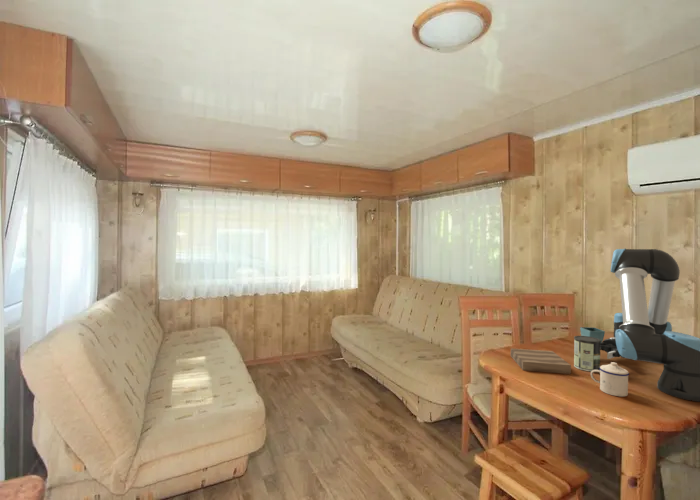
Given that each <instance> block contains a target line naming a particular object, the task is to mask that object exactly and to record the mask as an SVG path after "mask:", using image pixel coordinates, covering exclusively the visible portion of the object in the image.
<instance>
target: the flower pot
mask: <svg viewBox="0 0 700 500" xmlns="http://www.w3.org/2000/svg"><path fill="white" fill-rule="evenodd" d="M605 333H606V331H605V330H602V329H599V328H596V327H592V326H591V327H588V326H586V327H580V336H588V337H594V338H597V339H600V340H601V342H603V341H604V337H605ZM601 342H600V343H601Z"/></svg>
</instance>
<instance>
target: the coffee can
mask: <svg viewBox="0 0 700 500" xmlns="http://www.w3.org/2000/svg"><path fill="white" fill-rule="evenodd" d="M573 339H574V341H573V343H574V347H573V348H574V349H573V354H574V355H573V367H575V368H576V369H578V370H581V371H585V372H590V373H591V371H592V370H600V366H601V350H600V342H601V340H600V339H597V338H594V337H588V336H581V335H574V336H573Z"/></svg>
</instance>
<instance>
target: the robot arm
mask: <svg viewBox="0 0 700 500" xmlns="http://www.w3.org/2000/svg"><path fill="white" fill-rule="evenodd" d="M680 272H681V270H680V266H679V264H678V261H676V259H675V258H674V257H673V256H672V255H670V254H669V253H668V252H666V251H664V250H661V249H657V248H651V249H649V248H648V249H647V248H645V249H644V248H639V249H637V248H617V249H615V250H614V251H613V253H612V258H611V265H610V273H613V274H614V276H615V277H616V278H617V279H618V280H619V287H620V289H619V290H620V303H621V312H617V313H614V315H613V316H614V317H613V337H609V338H605V339H603V341H602V342H601V343H600V351H603V352H606V357H607V358H606V359H608V360H609V359H613V358H620V357H621V358H623V359H628V360H632V361H633V360H634V361H641V362H648V363H654V364H660V365H661V364H662V365H663V370H662V372H661V373H660V376H659V379H658V380H657V383H656V387H657V389H658V390H659V391H660V392H662V393H664V394H667V395H669V396H672V397H675V398H678V399H681V400H687V401H691V400H692V402H700V338H699V337H697V336H694V335H691V334H686V333H684V332H683V333H682V332H678V331H672V330H673V326H672V323H671V322H670V321H668V319H669V313H670V310H671V309H670V307H671V304H672V298H673V293H674V288H675V283H676V282H677V281H678V280H679V278H680ZM648 275H650V277H651V278H652V282H651V288H650V293H649V300H648V302H647V295H646V287H645V279H646V278H647V276H648ZM647 303H648V304H647Z"/></svg>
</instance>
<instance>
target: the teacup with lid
mask: <svg viewBox="0 0 700 500" xmlns="http://www.w3.org/2000/svg"><path fill="white" fill-rule="evenodd" d="M593 373H599V380H598V379H596V378H595V377H594V375H593ZM629 375H630V373H629V371H628V370H627V369H625V368H623V367H622V366H619V365H618V363H617V362H614V361H613V362H612V361H611V362H610V363H609V364H602V365H600V370H592V371H591V372H590V378H591V379H592V380H593V381H594V382H596V383H598V384H599V390H600V391H601V392H603V393H604V394H607V395H611V396H615V397H620V398H621V397H627V396H628V394H629V392H628V391H629Z"/></svg>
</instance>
